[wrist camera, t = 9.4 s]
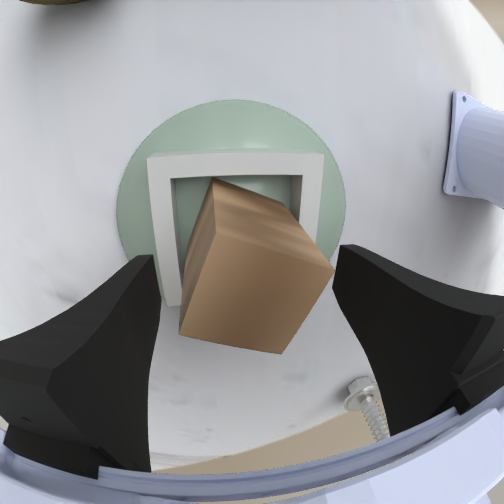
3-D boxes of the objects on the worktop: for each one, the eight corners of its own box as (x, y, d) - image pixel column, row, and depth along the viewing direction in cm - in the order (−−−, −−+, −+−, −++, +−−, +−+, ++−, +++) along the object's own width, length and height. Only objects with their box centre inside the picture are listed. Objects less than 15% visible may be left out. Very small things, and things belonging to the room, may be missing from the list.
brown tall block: (282, 202, 15) (335, 270, 9) (253, 264, 16) (281, 354, 10) (212, 176, 14) (216, 232, 8) (187, 244, 15) (178, 334, 9)
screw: (374, 362, 25) (379, 381, 27) (333, 384, 25) (342, 401, 28) (430, 465, 13) (425, 470, 16) (377, 493, 14) (381, 494, 16)
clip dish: (350, 109, 13) (372, 110, 11) (325, 301, 19) (337, 323, 17) (109, 111, 12) (92, 111, 10) (140, 314, 18) (134, 338, 16)
